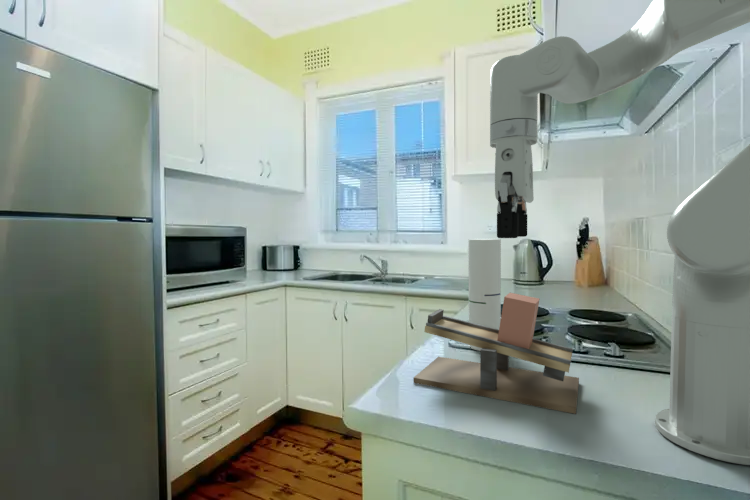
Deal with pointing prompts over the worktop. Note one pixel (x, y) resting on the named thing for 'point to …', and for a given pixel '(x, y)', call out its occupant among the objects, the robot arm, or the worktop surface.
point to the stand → (501, 381)
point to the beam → (502, 343)
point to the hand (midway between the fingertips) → (512, 237)
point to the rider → (518, 320)
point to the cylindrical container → (485, 283)
